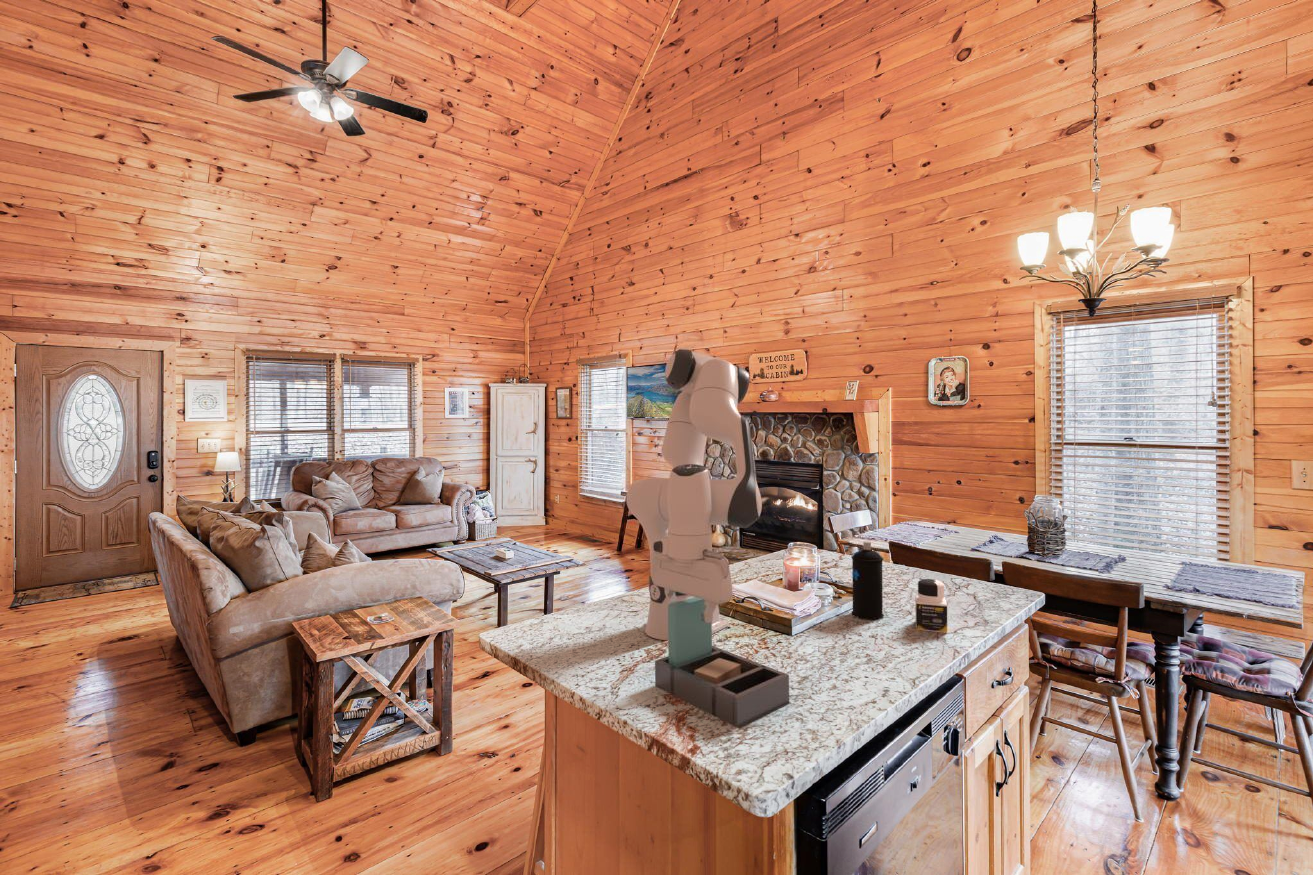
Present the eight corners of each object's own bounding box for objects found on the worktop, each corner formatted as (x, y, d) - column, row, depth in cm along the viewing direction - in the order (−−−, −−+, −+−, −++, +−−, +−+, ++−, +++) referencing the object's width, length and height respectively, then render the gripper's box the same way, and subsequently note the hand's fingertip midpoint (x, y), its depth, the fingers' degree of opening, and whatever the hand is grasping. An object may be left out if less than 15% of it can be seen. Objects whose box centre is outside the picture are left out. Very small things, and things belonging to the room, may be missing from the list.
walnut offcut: (719, 670, 118) (719, 657, 118) (740, 677, 115) (740, 664, 115) (694, 683, 112) (694, 670, 112) (716, 691, 109) (715, 677, 109)
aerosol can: (886, 613, 165) (886, 541, 164) (879, 621, 158) (879, 546, 157) (855, 608, 169) (855, 538, 169) (848, 616, 162) (847, 543, 162)
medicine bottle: (916, 630, 151) (915, 582, 151) (915, 621, 158) (915, 576, 158) (947, 633, 148) (947, 585, 148) (945, 624, 155) (945, 578, 155)
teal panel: (705, 671, 124) (704, 594, 123) (712, 674, 122) (711, 596, 122) (668, 685, 117) (667, 604, 117) (675, 689, 116) (674, 606, 115)
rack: (706, 673, 126) (705, 643, 126) (791, 710, 109) (791, 675, 109) (655, 693, 117) (655, 660, 117) (739, 737, 100) (739, 698, 100)
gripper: (739, 552, 113) (740, 625, 113) (668, 538, 129) (668, 602, 129) (716, 557, 109) (716, 632, 109) (645, 541, 125) (645, 607, 125)
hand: (690, 615), depth 119 cm, fingers open, 8 cm apart
